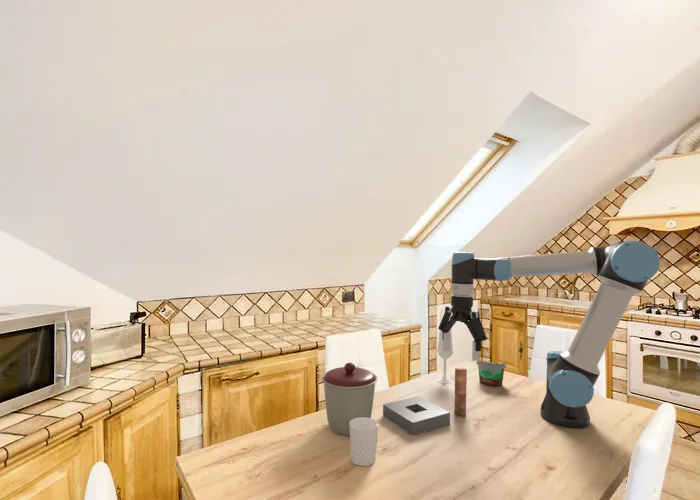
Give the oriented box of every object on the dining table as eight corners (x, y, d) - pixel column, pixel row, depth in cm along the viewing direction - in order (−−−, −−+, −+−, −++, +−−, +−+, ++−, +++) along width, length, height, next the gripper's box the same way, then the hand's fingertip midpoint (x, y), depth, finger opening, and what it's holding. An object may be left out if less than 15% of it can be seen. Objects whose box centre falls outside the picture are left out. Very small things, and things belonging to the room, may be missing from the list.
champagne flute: (446, 377, 174) (447, 325, 174) (455, 382, 168) (456, 328, 168) (434, 379, 172) (434, 326, 172) (442, 384, 165) (443, 329, 165)
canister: (329, 413, 134) (330, 353, 134) (380, 418, 131) (381, 357, 131) (313, 438, 117) (315, 369, 117) (372, 445, 113) (373, 374, 113)
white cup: (349, 451, 109) (349, 416, 109) (376, 452, 109) (377, 417, 109) (348, 467, 101) (348, 429, 101) (377, 468, 101) (378, 430, 101)
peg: (468, 415, 135) (469, 370, 135) (460, 417, 133) (461, 371, 133) (459, 411, 138) (460, 366, 138) (451, 413, 136) (452, 368, 136)
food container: (473, 384, 166) (474, 361, 166) (476, 380, 171) (476, 358, 171) (504, 390, 160) (504, 366, 160) (505, 385, 165) (506, 362, 165)
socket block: (449, 424, 127) (450, 412, 127) (412, 435, 119) (412, 422, 119) (418, 406, 141) (418, 396, 141) (382, 415, 133) (383, 404, 133)
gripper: (429, 291, 144) (428, 347, 144) (483, 300, 123) (481, 366, 123) (444, 291, 148) (443, 345, 148) (498, 299, 127) (497, 363, 127)
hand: (460, 355), depth 135 cm, fingers open, 13 cm apart
